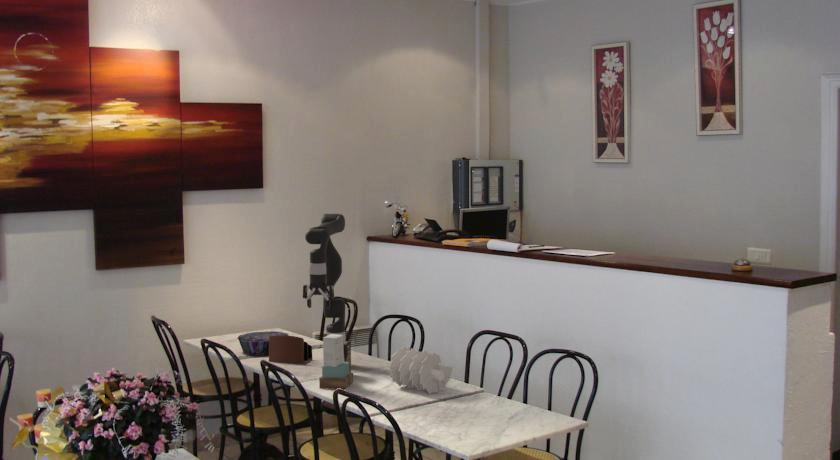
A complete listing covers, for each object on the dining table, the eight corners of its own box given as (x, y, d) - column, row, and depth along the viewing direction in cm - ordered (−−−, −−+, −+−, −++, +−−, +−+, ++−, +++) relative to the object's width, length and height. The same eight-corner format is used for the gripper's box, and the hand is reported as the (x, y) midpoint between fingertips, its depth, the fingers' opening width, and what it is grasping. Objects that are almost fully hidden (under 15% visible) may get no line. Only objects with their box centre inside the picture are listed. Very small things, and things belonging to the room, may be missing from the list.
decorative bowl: (234, 351, 463) (232, 333, 462) (284, 343, 473) (282, 325, 472) (244, 361, 439) (242, 342, 438) (296, 352, 450) (294, 334, 449)
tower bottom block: (328, 382, 391) (328, 371, 391) (353, 383, 389) (353, 372, 388) (319, 389, 380) (319, 378, 379) (345, 390, 377) (345, 379, 376)
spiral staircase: (433, 405, 365) (391, 392, 382) (458, 380, 376) (415, 369, 393) (422, 371, 358) (379, 359, 374) (447, 347, 369) (405, 336, 385)
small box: (331, 361, 388) (331, 333, 387) (344, 363, 386) (343, 334, 385) (322, 365, 381) (322, 337, 379) (335, 367, 378) (335, 338, 377)
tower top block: (327, 372, 389) (327, 361, 389) (349, 372, 388) (349, 362, 388) (322, 377, 380) (322, 366, 379) (344, 378, 378) (344, 367, 378)
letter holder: (303, 364, 424) (303, 336, 423) (268, 362, 431) (267, 334, 429) (312, 360, 433) (312, 332, 432) (278, 357, 440) (277, 330, 439)
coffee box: (346, 379, 395) (345, 344, 393) (333, 378, 396) (332, 344, 395) (351, 374, 404) (351, 340, 402) (338, 373, 405) (338, 340, 404)
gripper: (335, 271, 387) (336, 307, 388) (306, 270, 390) (306, 305, 392) (330, 274, 380) (330, 310, 381) (300, 273, 383) (300, 309, 385)
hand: (318, 308), depth 386 cm, fingers open, 8 cm apart
